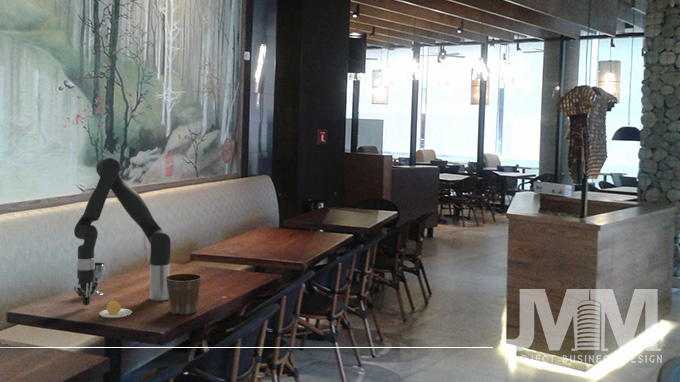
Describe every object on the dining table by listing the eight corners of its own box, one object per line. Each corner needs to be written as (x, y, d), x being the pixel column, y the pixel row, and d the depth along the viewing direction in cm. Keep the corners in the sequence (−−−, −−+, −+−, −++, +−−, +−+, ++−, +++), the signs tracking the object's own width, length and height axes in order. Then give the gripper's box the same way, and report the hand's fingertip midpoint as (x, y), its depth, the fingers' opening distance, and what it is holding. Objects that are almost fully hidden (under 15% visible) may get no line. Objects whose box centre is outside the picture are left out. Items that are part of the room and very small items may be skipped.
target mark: (132, 308, 324) (132, 307, 324) (131, 316, 310) (131, 316, 310) (100, 309, 320) (100, 309, 320) (98, 318, 307) (98, 317, 307)
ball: (119, 311, 317) (122, 299, 316) (119, 317, 312) (121, 304, 311) (106, 310, 315) (108, 298, 314) (105, 315, 310) (107, 303, 309)
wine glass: (108, 293, 349) (108, 263, 348) (95, 296, 342) (95, 266, 341) (97, 291, 353) (97, 261, 352) (84, 294, 346) (84, 264, 345)
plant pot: (158, 310, 321) (158, 276, 320) (188, 305, 333) (189, 271, 331) (177, 318, 310) (177, 282, 308) (208, 312, 321) (208, 277, 319)
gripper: (90, 264, 327) (90, 300, 329) (68, 269, 315) (69, 307, 317) (102, 266, 325) (102, 302, 326) (81, 271, 312) (81, 309, 314)
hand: (86, 304), depth 322 cm, fingers closed
